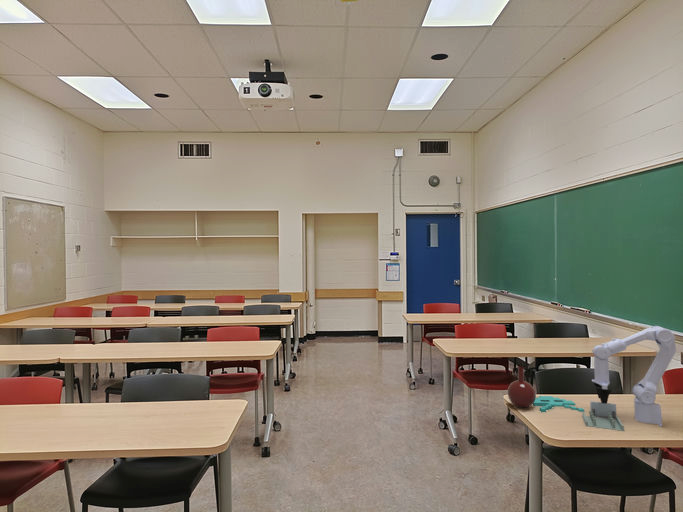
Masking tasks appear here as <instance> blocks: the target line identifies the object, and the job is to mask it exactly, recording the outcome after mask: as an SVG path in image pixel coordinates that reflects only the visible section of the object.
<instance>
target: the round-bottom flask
mask: <svg viewBox="0 0 683 512" xmlns="http://www.w3.org/2000/svg"><path fill="white" fill-rule="evenodd" d="M524 372H525V367H523V366H517V378H518V379H517V380H514V381H513V382H511V383H510V384H509V386H508V387H507V396H508V399H509V401H510V402H511V403H512V404H513V405H514V406H515V407H518V408H522V409H523V408H526V409H527V408H529V407H532V406H533V405H532V404H533V403H534V402H535V399H536V397H537V392H536V390H535V388H534V387H533V386H532V384H531V383H530V382H528V381H526V380H525V378H524V377H525V373H524Z"/></svg>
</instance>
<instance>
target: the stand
mask: <svg viewBox="0 0 683 512" xmlns="http://www.w3.org/2000/svg"><path fill="white" fill-rule="evenodd" d="M592 412H593V414H594V416H595V417H598V418H606V419H608V417H605V416H597V415H595V409H592ZM612 412H613V417H612V418H613V419H614V420H616V416H617V413H616V414H615V411H612ZM588 413H589V415H590V411H588Z"/></svg>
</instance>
